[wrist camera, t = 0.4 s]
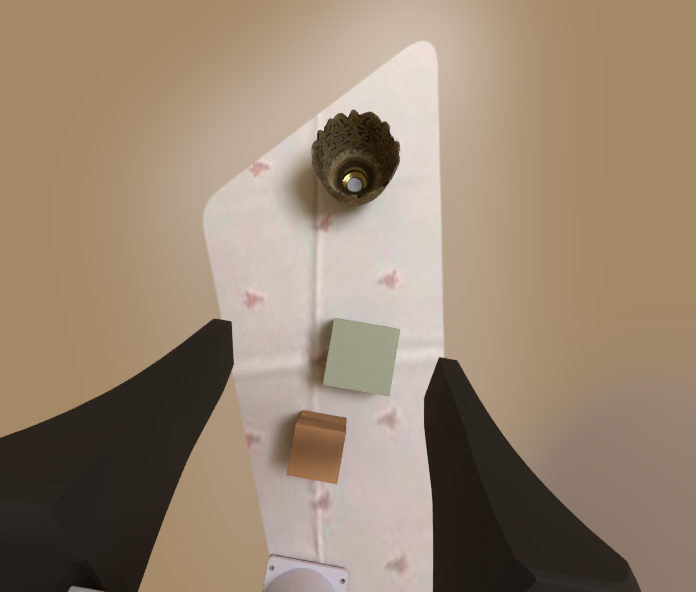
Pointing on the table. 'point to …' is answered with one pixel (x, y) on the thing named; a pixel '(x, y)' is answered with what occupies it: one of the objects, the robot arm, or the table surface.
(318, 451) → the walnut block
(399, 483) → the table surface
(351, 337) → the grey block
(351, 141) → the cup
